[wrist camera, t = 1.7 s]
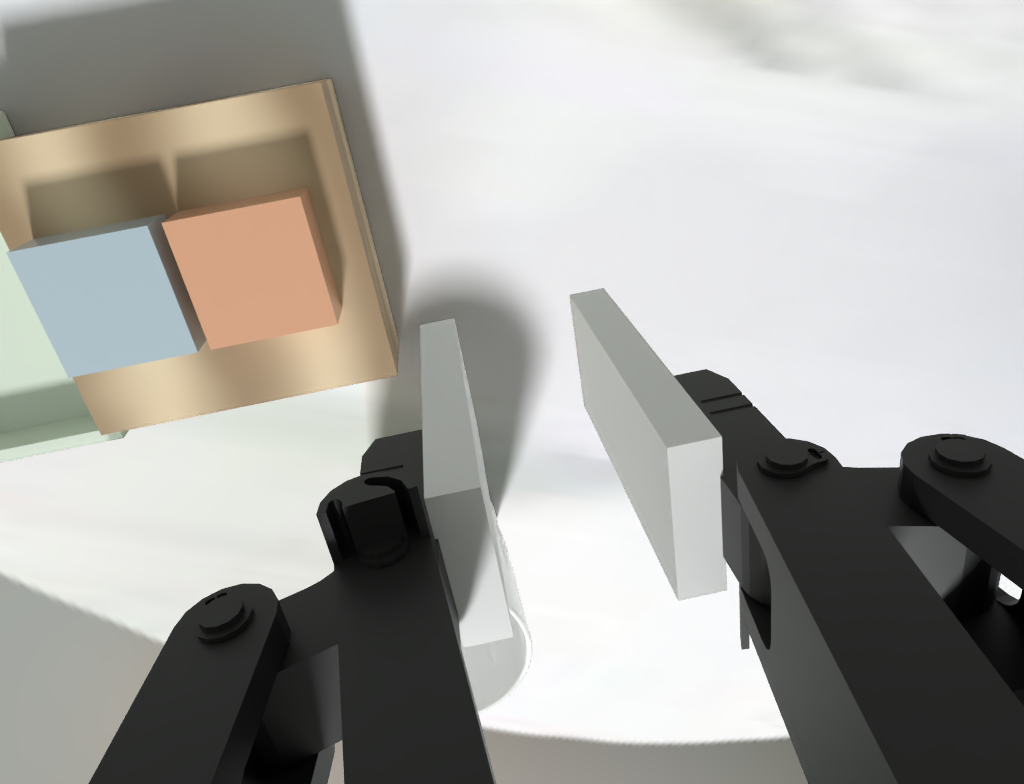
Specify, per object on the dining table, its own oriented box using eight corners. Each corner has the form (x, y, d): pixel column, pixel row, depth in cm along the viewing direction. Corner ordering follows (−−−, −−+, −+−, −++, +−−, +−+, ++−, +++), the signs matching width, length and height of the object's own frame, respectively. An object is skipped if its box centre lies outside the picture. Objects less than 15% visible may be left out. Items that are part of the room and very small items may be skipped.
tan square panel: (331, 77, 29) (320, 81, 26) (398, 341, 35) (397, 375, 31) (15, 136, 29) (-41, 148, 25) (133, 394, 34) (101, 435, 31)
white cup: (334, 509, 38) (311, 648, 30) (456, 436, 37) (470, 557, 29) (417, 598, 42) (418, 748, 33) (531, 534, 41) (564, 669, 32)
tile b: (164, 213, 27) (147, 225, 25) (211, 333, 29) (197, 352, 27) (33, 238, 27) (5, 252, 25) (89, 357, 29) (68, 377, 27)
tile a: (307, 186, 27) (300, 196, 25) (342, 308, 29) (337, 324, 28) (177, 211, 27) (161, 223, 25) (222, 331, 29) (210, 349, 27)
